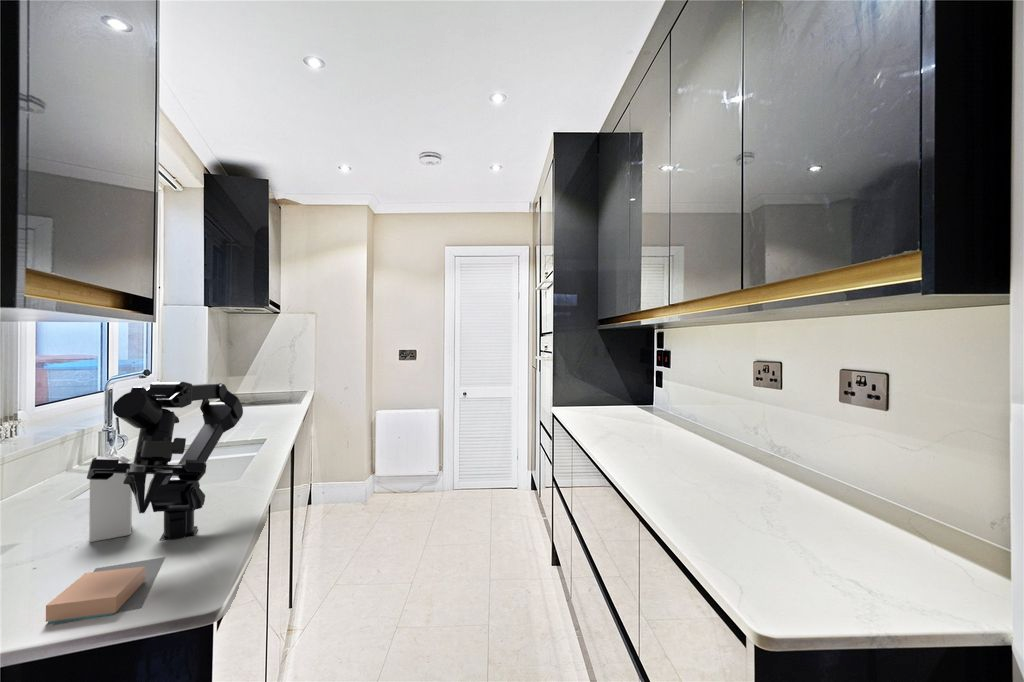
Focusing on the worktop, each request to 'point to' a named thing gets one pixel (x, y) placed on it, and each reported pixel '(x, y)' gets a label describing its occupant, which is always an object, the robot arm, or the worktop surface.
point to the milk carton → (110, 506)
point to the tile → (95, 594)
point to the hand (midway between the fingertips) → (142, 512)
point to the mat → (141, 593)
